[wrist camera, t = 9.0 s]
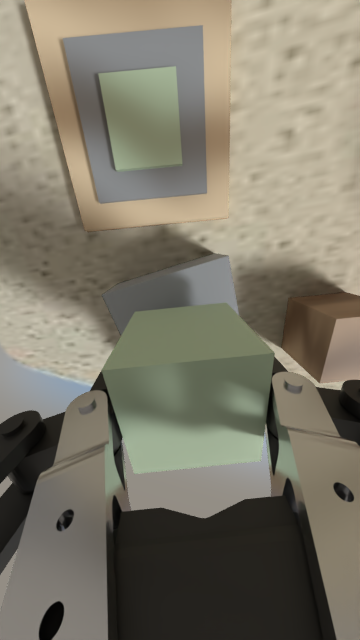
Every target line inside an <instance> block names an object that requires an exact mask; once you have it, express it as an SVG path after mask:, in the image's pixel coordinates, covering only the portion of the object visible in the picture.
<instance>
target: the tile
mask: <svg viewBox="0 0 360 640" xmlns="http://www.w3.org/2000/svg"><path fill="white" fill-rule="evenodd" d="M24 1H25V5H26V8H27V12H28V16H29V20H30V24H31V28H32V31H33V35H34V39H35V43H36V47H37V50H38V54H39V58H40V62H41V66H42V70H43V73H44V77H45V81H46V85H47V89H48V93H49V96H50V100H51V104H52V108H53V112H54V115H55V119H56V123H57V127H58V131H59V135H60V138H61V142H62V146H63V150H64V154H65V157H66V161H67V165H68V169H69V173H70V177H71V180H72V184H73V188H74V192H75V196H76V200H77V203H78V207H79V211H80V215H81V219H82V222H83V226H84V230H85V231H87V232H92V231H102V230H113V229H123V228H134V227H144V226H155V225H165V224H175V223H186V222H196V221H207V220H217V219H226V218H228V217H229V147H230V68H231V0H24Z"/></svg>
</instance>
